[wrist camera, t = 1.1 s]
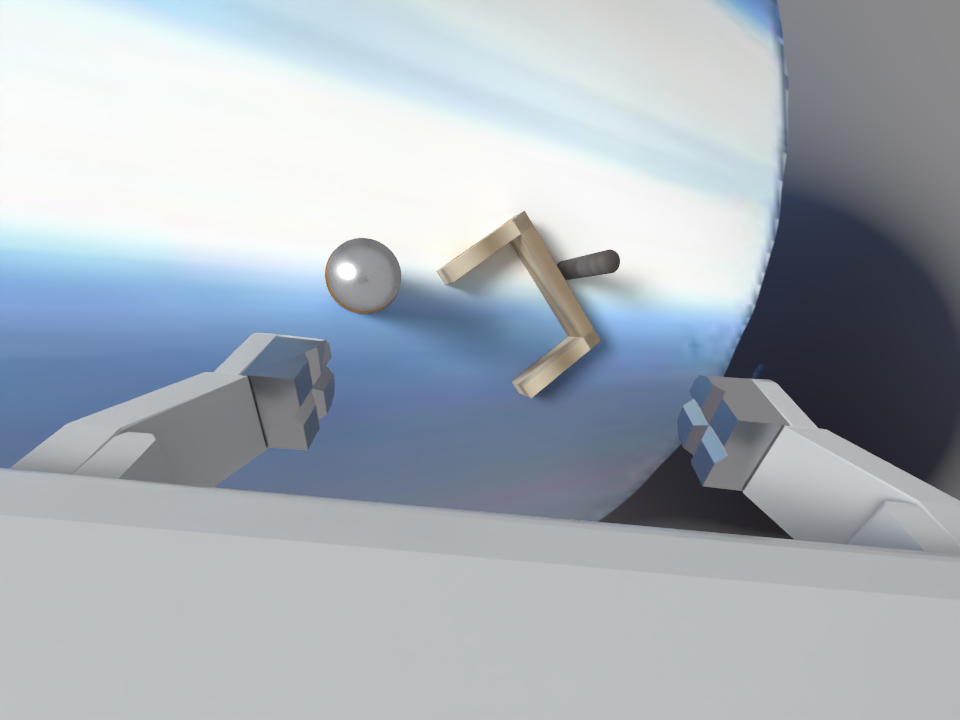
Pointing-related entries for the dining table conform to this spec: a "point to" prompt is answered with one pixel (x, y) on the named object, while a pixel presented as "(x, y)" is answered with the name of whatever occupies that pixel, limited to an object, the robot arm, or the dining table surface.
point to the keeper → (552, 288)
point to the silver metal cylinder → (363, 275)
